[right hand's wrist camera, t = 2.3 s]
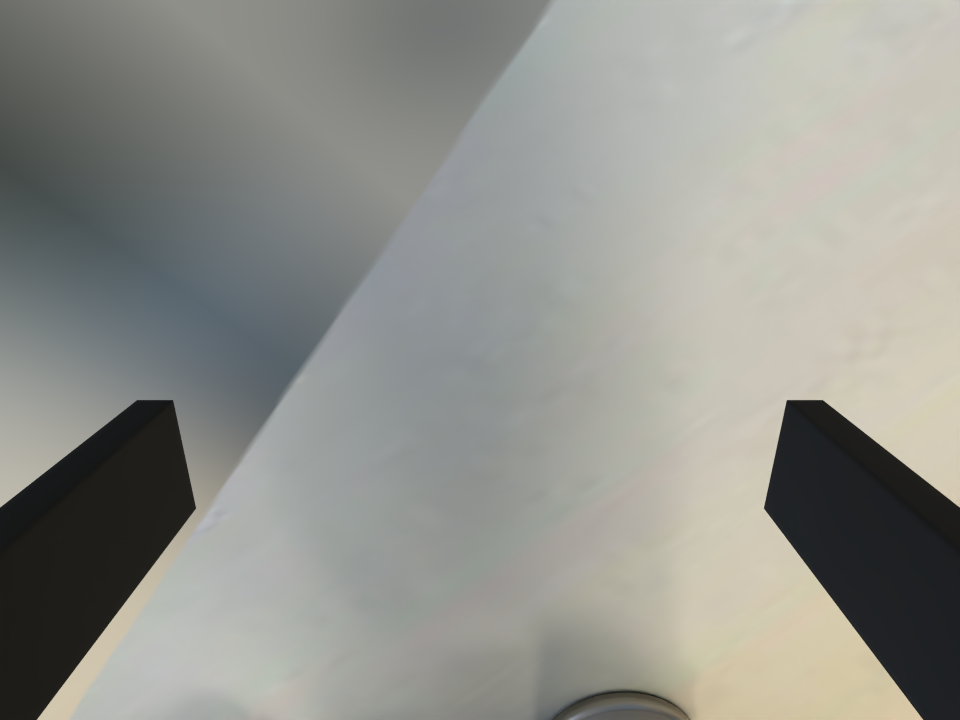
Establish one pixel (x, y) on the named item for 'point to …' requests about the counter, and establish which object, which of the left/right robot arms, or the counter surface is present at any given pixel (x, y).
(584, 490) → the counter surface
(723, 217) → the counter surface
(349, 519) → the counter surface
